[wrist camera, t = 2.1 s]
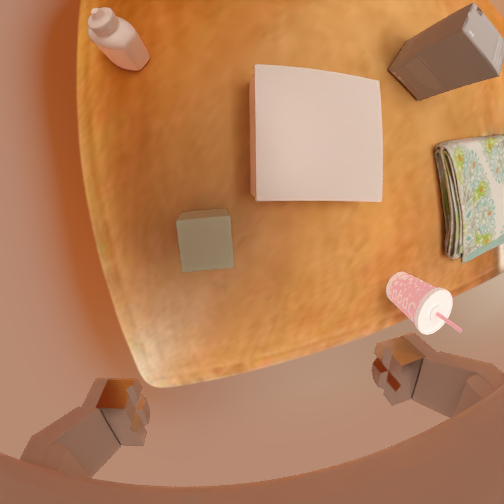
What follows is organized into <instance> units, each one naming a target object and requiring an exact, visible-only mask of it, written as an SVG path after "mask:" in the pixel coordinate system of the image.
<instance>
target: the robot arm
mask: <svg viewBox="0 0 504 504" xmlns="http://www.w3.org/2000/svg"><path fill="white" fill-rule="evenodd" d="M374 354H375V355H376V356H377V358H376V359H375V361H374V363H373V366H372V374H373V379H374V381H375V383H376V385H377V386H378V387H380V388H383V389H385V390H384V396H385V397H386V398H387V400H388V401H389V402H390V404H391V405H395V404H398V403H401V402H404V401H406V400H409V399H412V400H414V401H416V402H418V403H420V404H422V405H424V406H426V407H429V408H430V409H433V410H435V411H437V412H439V413H441V414H443V415H445V416H448V417H450V419H448V420H446V421H444V422H442V423H440V424H439V425H437V426H435V427H433V428H431V429H429V430H427V431H425V432H423V433H420V434H418V435H416V436H414V437H412V438H410V439H407V440H405V441H403V442H401V443H398V444H396V445H393V446H391V447H388V448H386V449H383V450H381V451H378V452H375V453H373V454H370V455H367V456H364V457H361V458H358V459H355V460H352V461H349V462H345V463H342V464H339V465H336V466H332V467H328V468H324V469H320V470H317V471H313V472H308V473H304V474H299V475H295V476H289V477H284V478H279V479H272V480H266V481H260V482H251V483H243V484H233V485H220V486H199V487H168V486H148V485H134V484H125V483H117V482H110V481H103V480H97V479H92V476H93V475H94V474H95V473H96V472H97V471H98V470H99V469H100V468H101V467H102V466H103V465H104V464H105V463H106V462H107V460H109V459H110V458H111V457H112V455H113V454H114V453H115V452H116V451H117V450H118V449H119V448H120V447H121V446H120V445H125V446H144V442H145V438H146V433H147V432H146V430H145V428H144V426H145V425H146V424H148V423H149V418H150V410H149V405H148V402H147V399H146V397H145V396H144V395H142V394H141V390H142V386H141V384H140V382H139V380H138V379H136V378H97V379H95V381H94V383H93V385H92V387H91V389H90V391H89V393H88V395H87V397H86V399H85V401H84V403H83V405H82V407H77V408H75V409H74V410H72V411H71V412H69V413H68V414H66V415H64V416H63V417H61V418H60V419H58V420H57V421H55V422H54V423H52V424H50V425H49V426H47V427H46V428H44V429H43V430H41V431H39V432H38V433H36V434H35V435H33V436H32V437H31V439H30V440H29V442H28V444H27V446H26V448H25V450H24V452H23V454H22V456H21V458H20V460H19V459H16V458H13V457H11V456H8V455H6V454H3V453H0V504H504V373H503V372H502V371H501V370H499V369H498V368H497V367H496V366H494V365H493V364H491V363H487V362H482V361H477V360H473V359H469V358H465V357H461V356H457V355H452V354H448V353H444V352H438V353H437V352H436V351H435V350H434V349H433V348H431V347H430V346H429V345H428V344H427V343H426V342H425V341H423V340H422V339H421V338H420V337H419V336H417V335H416V334H415V333H412V332H411V333H408V334H405V335H403V336H400V337H397V338H394V339H391V340H387V341H384V342H380V343H377V345H376V347H375V351H374Z"/></svg>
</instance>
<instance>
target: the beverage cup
mask: <svg viewBox="0 0 504 504" xmlns="http://www.w3.org/2000/svg"><path fill="white" fill-rule="evenodd" d="M386 294H387V297H388V298H389V299H390V300H391V301H392V302H393V303H394V304H395V305H396V306H397V307H398V308H399V309H400V310H401V311H402V312H403V313H404V314H405V315H406V316H407V317H408V318H409V319H410V320H411V321H412V322H413V323H415V326H416V327H417V329H418V330H419V331H420V332H421V333H423V334H426V335H428V334H432V333H434V332H436V331H437V330H439V329H440V328H441V327H442V326H443V324H444V323H445V322H446V323H447V324H449V325H450V326H452V327H453V328H454V329H456V330H457V331H458V332H460V333H462V331H463V329H461V328H460V327H458V326H457V325H456V324H454V323H453V322H451V321H450V320H449V319H448V317H449V315H450V312H451V308H452V296H451V294H450V292H449V291H447V290H445V289H443V288H441V287H440V288H436V287H434V286H432V285H430V284H428V283H426V282H424V281H422V280H420V279H418V278H416V277H414V276H411V275H409V274H407V273H405V272H398V273H396V274H394V275H393V276H392V277H391V279H390V280H389V282H388V284H387V288H386Z"/></svg>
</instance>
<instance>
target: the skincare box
mask: <svg viewBox="0 0 504 504" xmlns="http://www.w3.org/2000/svg"><path fill="white" fill-rule="evenodd" d="M503 59H504V39H503V38H502V36H501V35H500V34H499V32H498V31H497V30H496V28H495V27H494V26H493V25H492V23H491V22H490V21H489V19H488V18H487V17H486V16H485V15H484V13H483V12H482V11H481V10H480V9H479V8H478V6H477V5H476V4H475V3H472V4H469V5H468V6H466V7H464V8H462V9H460V10H458V11H457V12H455V13H453V14H451V15H449V16H448V17H446V18H444V19H443V20H441V21H439V22H437V23H436V24H434V25H432V26H431V27H429V28H427V29H426V30H424V31H423V32H421V33H419V34H418V35H416V36H414V37H413V38H411V39H410V40H408V41H407V42H406V43H405V45H404V46H403V48H402V49H401V51H400V52H399V54H398V55H397V57H396V58H395V60H394V61H393V63H392V64H391V66H390V68H389V69H388V70H389V71H390V72H391V73H392V74H393V75H394V76H395V77H396V78H397V79H398V80H399V81H400V82H401V83H402V84H403V85H404V86H405V87H406V88H407V89H408V90H409V91H410V92H411V93H412V94H413V95H414V97H415V98H416V99H417V100H419V101H420V100H423V99H426V98H428V97H431V96H434V95H437V94H440V93H443V92H446V91H449V90H453V89H456V88H459V87H462V86H466V85H469V84H472V83H476V82H479V81H483V80H486V79H490V78H494V77H498V76H500V71H501V67H502V63H503Z"/></svg>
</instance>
